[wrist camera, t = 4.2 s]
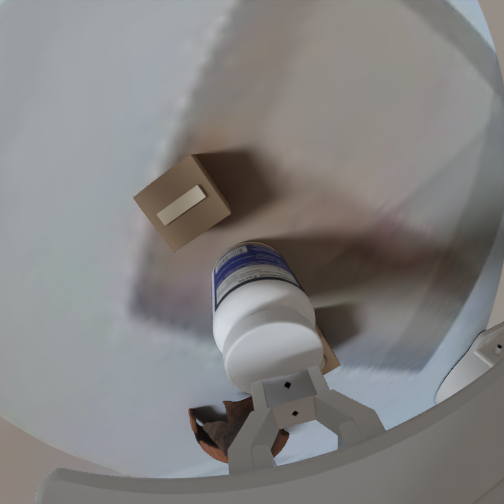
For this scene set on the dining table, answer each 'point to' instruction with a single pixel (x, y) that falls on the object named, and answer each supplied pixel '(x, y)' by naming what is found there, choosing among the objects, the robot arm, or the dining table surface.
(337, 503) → the robot arm
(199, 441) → the pottery mug
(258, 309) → the pill bottle
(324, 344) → the walnut block dot
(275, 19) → the dining table surface
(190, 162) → the walnut block bar
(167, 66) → the dining table surface
